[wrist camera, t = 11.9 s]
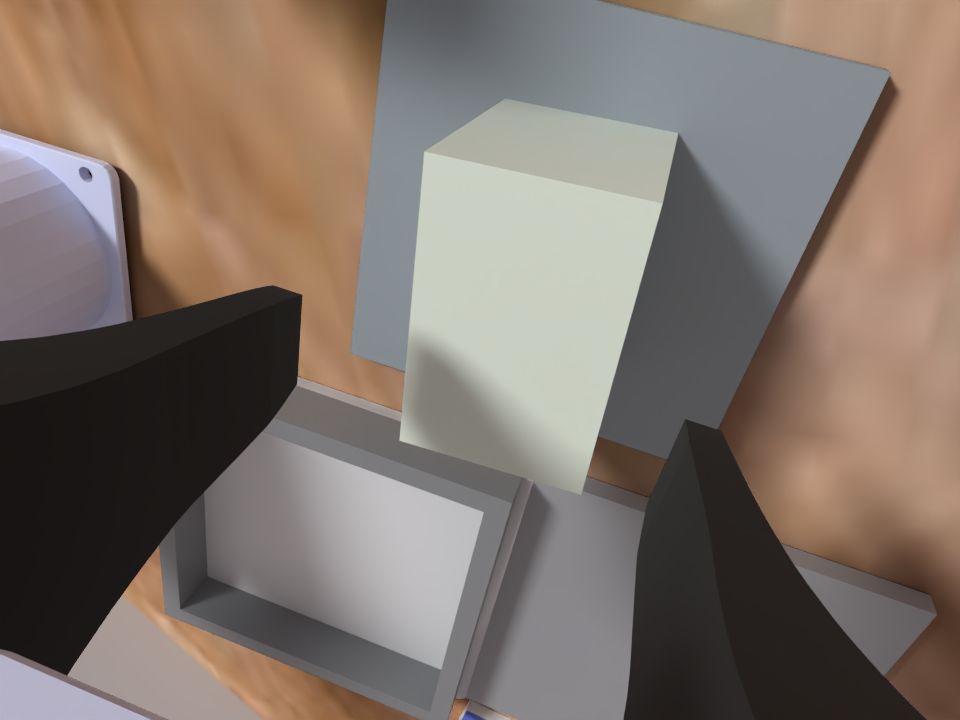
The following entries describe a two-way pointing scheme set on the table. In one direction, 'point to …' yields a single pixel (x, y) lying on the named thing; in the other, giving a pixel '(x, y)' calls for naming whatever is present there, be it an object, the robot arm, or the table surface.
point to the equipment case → (443, 571)
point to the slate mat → (689, 192)
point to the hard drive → (480, 713)
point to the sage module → (528, 285)
